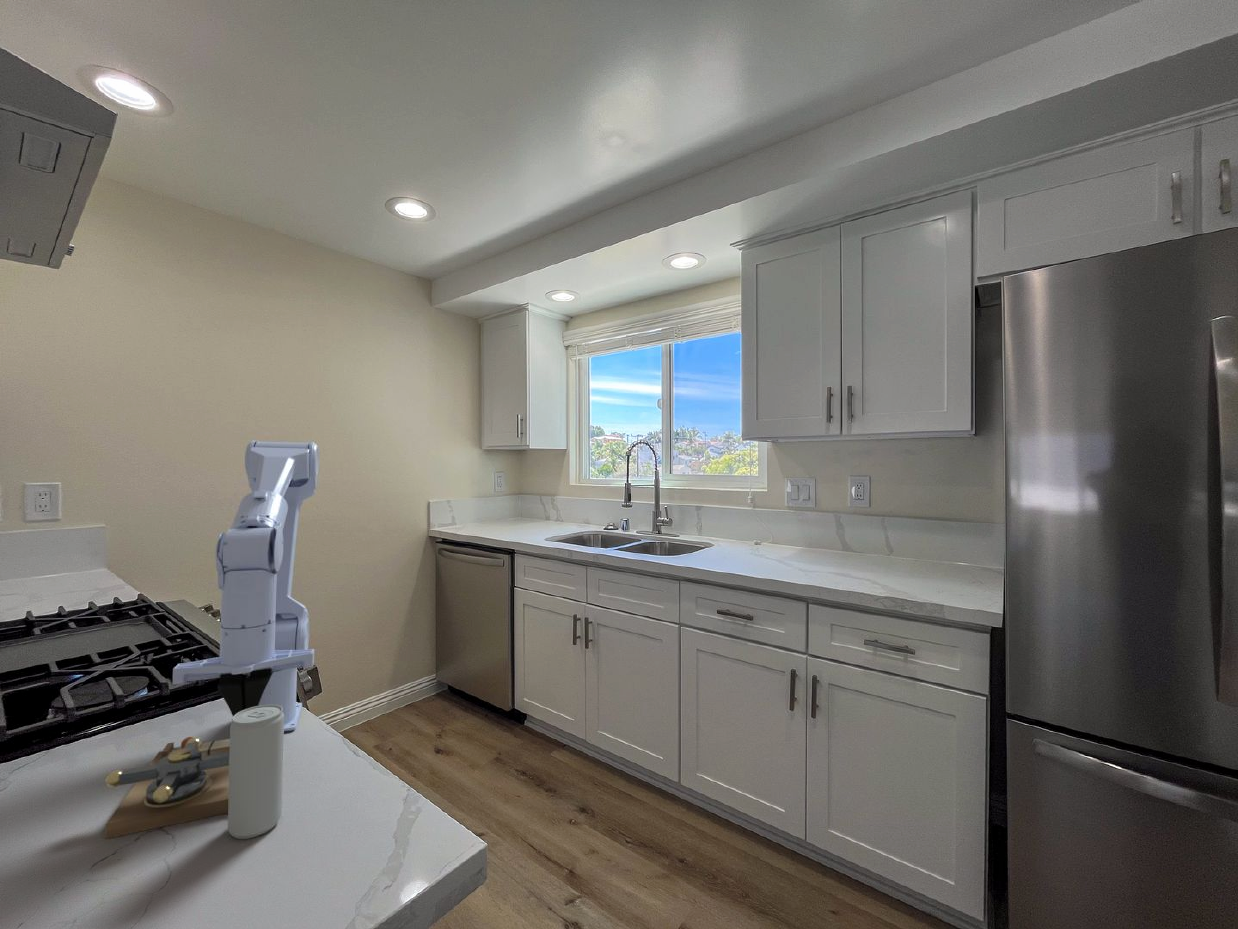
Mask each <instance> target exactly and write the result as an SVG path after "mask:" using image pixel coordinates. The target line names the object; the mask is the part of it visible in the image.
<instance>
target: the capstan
mask: <svg viewBox="0 0 1238 929" xmlns="http://www.w3.org/2000/svg"><path fill="white" fill-rule="evenodd" d="M202 743H203V742H202V740H201V738H199V737H193V738H192V739H190V740H189V741H188V742H187V743H186V746H185V747H184V749H181V750H177V751H175V752H172V753H171V754H169V755H168V756H166V757H164V758H162V759H161V760H159V761H158V762H157V765H151V766H149V765H146V766H140V767H135V768H129V769H123V770H121V769H120V770H119V769H117V770H114V771H112V772H110V773H109V774H107V777H106V778H105V780H104V781H105V785H106V786H107V787H108V788H116V787H118V786H125V785H130V784H136V782H141V781H147V780H152V779H156V781H154V782H153V783H151V784H150V785H149V786H148V787H147V789H146V802H147V803H149V804H152V805H164V804H170V803H174V802H178V801H181V800H184V799H186V798H189V797H191V796H193V795H195V794H196V793H198V792H199V791H201V790H202V789H203V788H204V787H205V785H206V772H205V771H203V770H207V769H213V768H219V767H224V766H229V752H227V753H221V754H215V755H209V756H203V757H202V752H201V751H199V749H200V747H201V745H202Z"/></svg>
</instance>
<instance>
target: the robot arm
mask: <svg viewBox="0 0 1238 929" xmlns="http://www.w3.org/2000/svg"><path fill="white" fill-rule="evenodd" d="M319 450H320V449H319V445H318V444H316V442H313V441H310V442H290V441H288V442H286V441H283V442H282V441H261V440H260V441H259V440H256V439H252V440H251V441H250V442H249V443H248V444H247V446H246V448H245V454H244V455H245V456H244V467H245V473H246V476H247V480H248V485H249V489H251V492H249V493H248V494H246V495H245V496H243V497H242V498H241V500H240V503H239V505H238V508H237V512H236V514H235V516H234V519H233V522H232V524H231V527H230V528H229V529H227V531H226V532H222V533H220V534H219V536H218V538H217V541H216V545H215V567H216V571H217V586H218V590H221V599H220V600H221V602H220V604H221V606H220V610H221V611H220V632H219V633H220V636H219V638H220V640H219V656H218V657H217V656H216V657H213V658H212V657H211V658H207V659H201V660H195V661H191V662H190V661H189V662H183V663H182V662H181V663H177V665H176V666H174V667H173V669H172V685H173V686H175V685H181V684H182V685H184V683H186V682H194V681H203V680H209V679H218V678H219V684H217V690H218V693H219V694H220V696H221V697H222V698H223V700H224V701H225V703H226V704H227V707H228V708H229V711H230V713H231V715H232V717H233V716H234V715H235V714H237V713H238V712H240V711H242V710H245V709H248V708H251V707H255V706H260V705H279V706H281V707H282V708H283V711H282V712H283V714H284V732H289V731H294V730H296V729H297V727H298V724H299V723H298V722H299V718H300V715H301V711H302V707H303V702H297V681H298V680H297V677H298V669H301V668H303V670H305V669H312V668H313V667H314V663H315V649H314V648H309V643H310V642H309V641H310V624H309V623H310V622H309V620H310V615H309V614H310V613H309V611H308V608H307V607H306V605H304V604H303V603H301V602H299V601H297V600H296V599H294V598H293V597H292V588H293V587H292V586H293V578H294V576H293V575H294V569H295V568H294V567H295V566H294V565H295V555H296V545H297V537H298V536H297V535H298V525H299V524H298V523H299V516H300V512H301V508H302V507H303V504H304V501H305V500H307V499H308V498H311V497H312V496H314V495H315V494H316V489H317V488H318V475H319V468H320V467H319V466H320V451H319Z"/></svg>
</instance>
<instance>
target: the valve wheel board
mask: <svg viewBox="0 0 1238 929" xmlns="http://www.w3.org/2000/svg"><path fill="white" fill-rule="evenodd" d="M192 738H194V737H193V736H187V737H186V738H184V739H183V740H182V741H181V743H180V746H178V747H177V746H176V747H175V742H167V743H166V745H165V746H164V748H163V750H160V751H158V753H157V754H156V755H155V757H154V758H153V760H151V762H150V764H148V766H151V765H157V762H158V761H159V760H161V759H162V758H164V757H166V756H168V755H169V754H171V753H172V752H175V751H177V750H181V749H184V747H185V746H186V743H187V742H188V741H189V740H190V739H192ZM229 749H230V738H226V739H225V738H224V739H220V740H212V741H207V742H202V745H201V747H200V749H199V751H201V752H202V757H203V756H209V755H215V754H221V753H227V752H229ZM203 771H205V772H206V785H205V787H204V788H203V789H202V790H201V791H199V792H198V793H196V794H195V795H193V796H191V797H189V798H186V799H184V800H181V801H178V802H174V803H170V804H164V805H152V804H149V803H147V802H146V789H147V787H148V786H149V785H150V784H151V783H153V782H154V781H156V779H152V780H147V781H141V782H135V783H134V785H133V787H132V788H131V789H130V790H129V792H128V793H127V795H126V796H125V797H124V798H123V800H122V801H121V802H120V804H119V805H118V807H117V808H116V810H115V811H114V812H113V814H112V815H111V816H110V818H109V819H108V820H107V822H106V823H105V835H104V837H105V839H109V838H110V839H111V838H116V837H120V836H125V835H130V834H134V833H138V832H144V831H149V830H153V829H157V828H163V827H166V826H167V827H168V826H172V825H176V824H177V825H178V824H181V823H186V822H187V823H188V822H191V821H196V820H200V819H205V818H210V817H215V816H218V815H219V816H221V815H223V814H224V815H225V814H228V795H229V766H224V767H219V768H213V769H207V770H203Z"/></svg>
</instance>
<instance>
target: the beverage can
mask: <svg viewBox="0 0 1238 929" xmlns="http://www.w3.org/2000/svg"><path fill="white" fill-rule="evenodd" d="M282 711H283V708H282V707H281V706H279V705H260V706H255V707H251V708H248V709H245V710H242V711H240V712H238V713H237V714H235V715H234V716H232V718H231V724H230V727H229V739H230V749H229V795H228V813H227V815H228V816H227V817H228V818H227V830H228V832H229V834H230V835H231V837H233V838H235V839H238V840H247V839H251V838H256V837H259V836H261V835H263V834H265V833H267V832H269V831H270V830H272V829H273V828H274V827H275V826H276V825H277V823H278V822H279V820H280V819H281V818H282V813H283V812H282V811H283V810H282V808H283V806H282V805H283V776H284V775H283V774H284V773H283V772H284V769H283V768H284V767H283V766H284V738H285V736H284V735H285V734H284V733H285V731H284V714H283V712H282Z"/></svg>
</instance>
